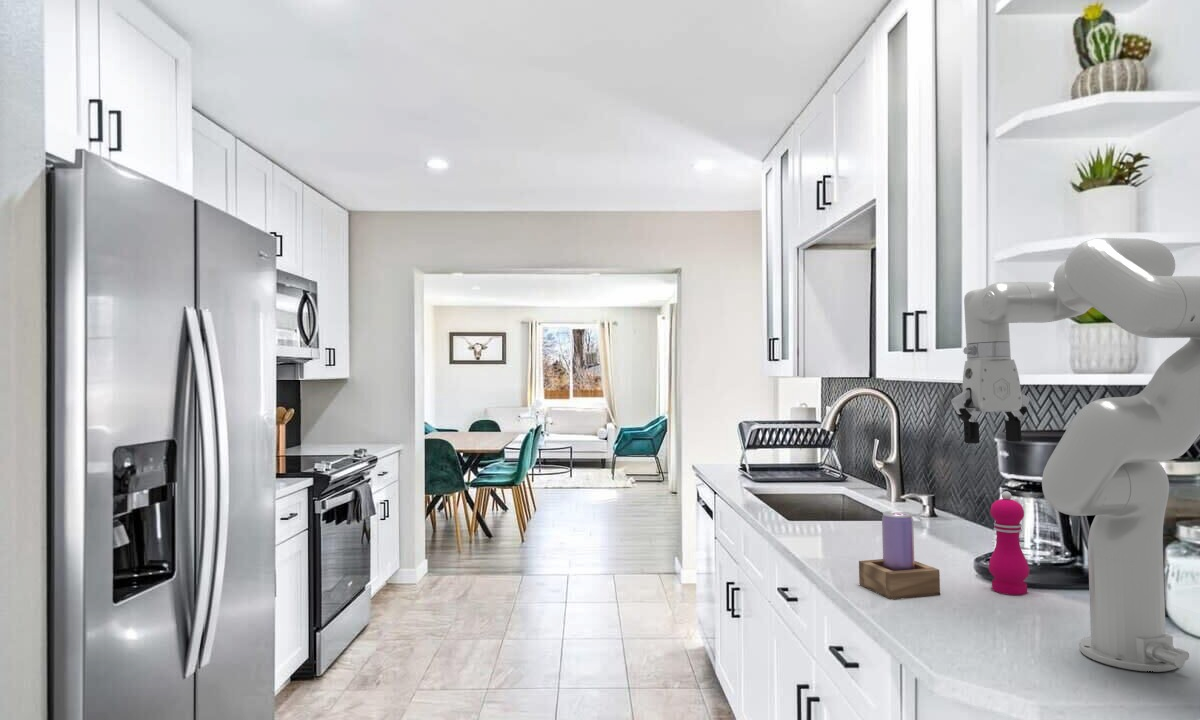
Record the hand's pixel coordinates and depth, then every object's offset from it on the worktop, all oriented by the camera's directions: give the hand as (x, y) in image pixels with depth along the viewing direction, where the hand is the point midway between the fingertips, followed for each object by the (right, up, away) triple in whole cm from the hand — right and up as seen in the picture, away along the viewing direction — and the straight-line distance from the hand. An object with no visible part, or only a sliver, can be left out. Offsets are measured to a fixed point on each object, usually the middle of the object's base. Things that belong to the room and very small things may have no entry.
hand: (993, 442), depth 145 cm
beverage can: (-14, -31, +10) cm, 35 cm away
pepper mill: (+7, -31, +8) cm, 33 cm away
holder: (-14, -31, +10) cm, 36 cm away
